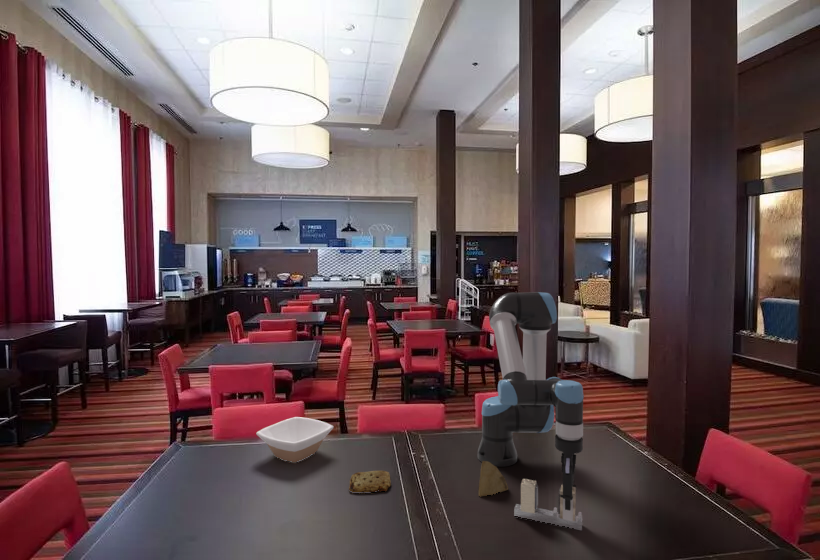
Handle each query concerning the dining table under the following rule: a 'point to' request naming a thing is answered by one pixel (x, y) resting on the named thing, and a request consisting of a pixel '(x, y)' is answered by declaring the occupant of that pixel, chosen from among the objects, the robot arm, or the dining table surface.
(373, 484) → the pastry
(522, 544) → the dining table surface
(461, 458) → the dining table surface
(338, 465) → the dining table surface
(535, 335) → the robot arm
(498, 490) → the rock
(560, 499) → the block
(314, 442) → the bowl
